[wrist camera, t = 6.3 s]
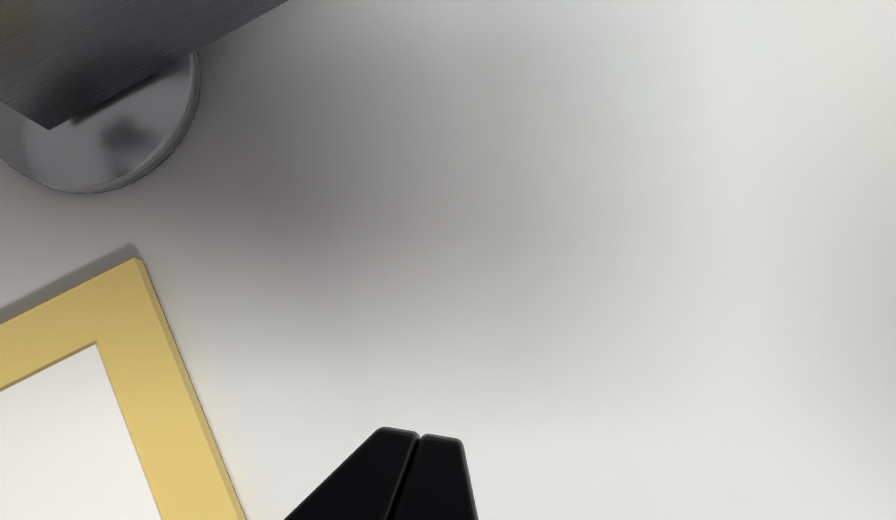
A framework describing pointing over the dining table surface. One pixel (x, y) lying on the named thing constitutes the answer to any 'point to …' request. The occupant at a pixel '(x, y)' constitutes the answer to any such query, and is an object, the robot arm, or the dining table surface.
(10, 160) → the flange
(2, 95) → the gray rectangular panel
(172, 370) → the label plate
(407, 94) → the dining table surface
